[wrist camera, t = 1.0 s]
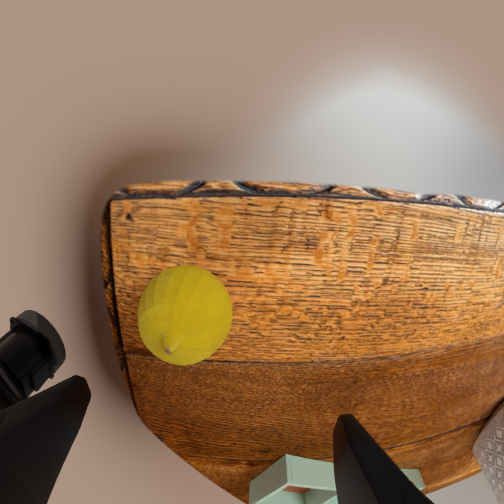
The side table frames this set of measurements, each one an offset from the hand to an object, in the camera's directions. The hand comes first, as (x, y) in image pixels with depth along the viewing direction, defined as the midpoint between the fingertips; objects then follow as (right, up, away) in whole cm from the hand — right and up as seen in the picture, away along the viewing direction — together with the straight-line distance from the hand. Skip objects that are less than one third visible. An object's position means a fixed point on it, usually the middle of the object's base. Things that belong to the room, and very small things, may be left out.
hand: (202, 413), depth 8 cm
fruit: (-2, +3, +12) cm, 13 cm away
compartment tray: (+14, -26, +20) cm, 36 cm away
